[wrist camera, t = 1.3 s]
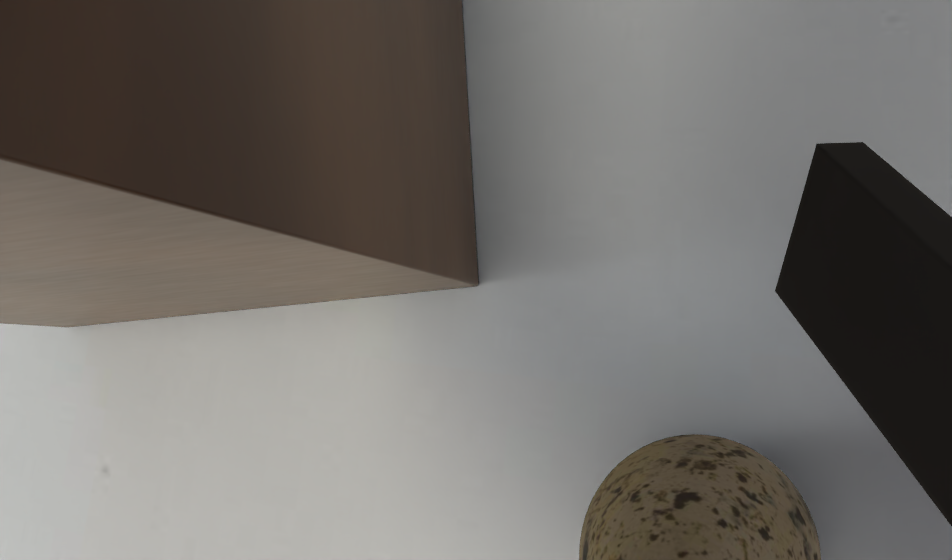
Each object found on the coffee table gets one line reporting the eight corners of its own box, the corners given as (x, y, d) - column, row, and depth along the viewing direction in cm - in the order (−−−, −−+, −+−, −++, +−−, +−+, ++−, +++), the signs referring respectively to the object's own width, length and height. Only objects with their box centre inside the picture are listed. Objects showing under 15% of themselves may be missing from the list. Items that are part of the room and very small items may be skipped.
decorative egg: (730, 388, 27) (696, 397, 17) (861, 558, 25) (902, 671, 16) (577, 496, 28) (468, 559, 19) (692, 665, 26) (637, 829, 17)
